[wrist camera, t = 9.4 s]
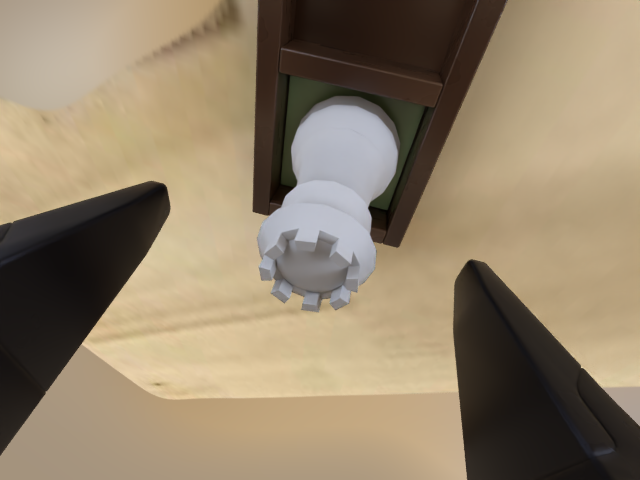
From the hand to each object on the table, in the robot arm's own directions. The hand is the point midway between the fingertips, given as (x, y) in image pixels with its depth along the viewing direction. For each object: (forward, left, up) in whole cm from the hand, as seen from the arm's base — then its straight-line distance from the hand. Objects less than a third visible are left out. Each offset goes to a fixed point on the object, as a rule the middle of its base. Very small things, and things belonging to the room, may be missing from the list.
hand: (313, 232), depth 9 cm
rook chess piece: (0, 0, -6) cm, 6 cm away
